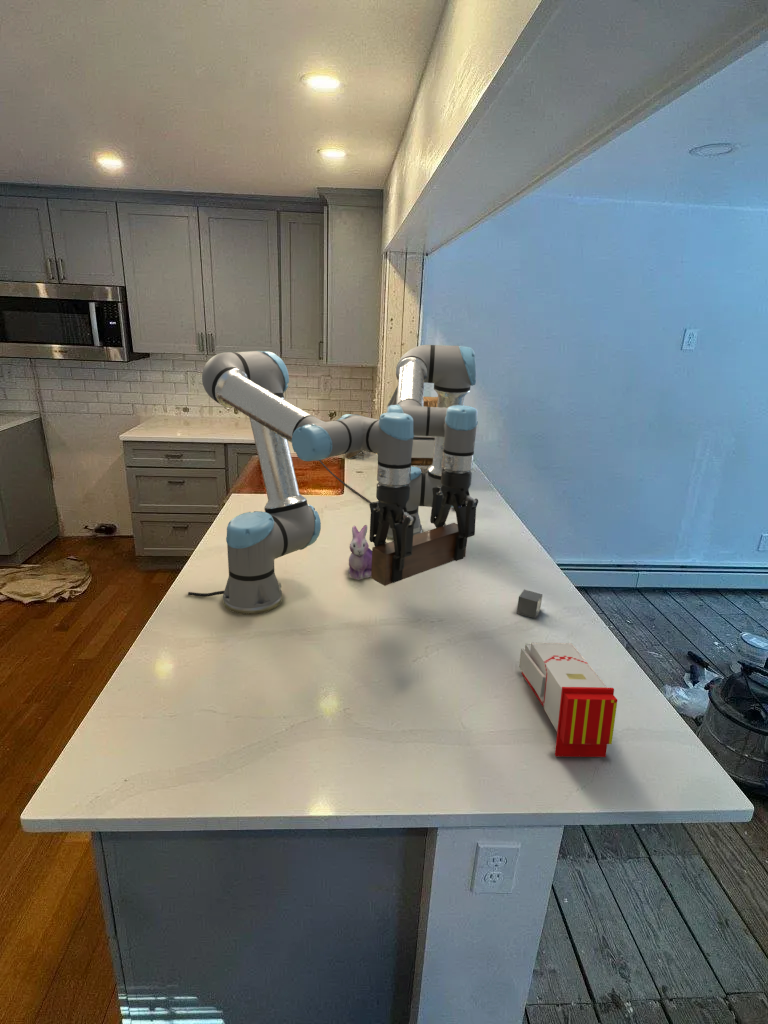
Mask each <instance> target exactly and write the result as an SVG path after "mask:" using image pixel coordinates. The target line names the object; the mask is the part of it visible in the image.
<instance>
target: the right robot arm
mask: <svg viewBox="0 0 768 1024" xmlns="http://www.w3.org/2000/svg"><path fill="white" fill-rule="evenodd" d="M395 377H396V380H397V386H398V389H397V398H396V405H390V406H389V407H388V409H387V408H386V412H387V413H388V412H397V413H405V414H408V415H410V416H411V417H412V418H413V433H414V435H416V436H434V437H435V440H434V452H433V464H432V465H430V466H429V465H428V466H427V472H422V469H421V468H420V467H419V466H418V467H417V466H411V481H410V483H409V485H410V495H409V500H408V502H407V503H406V508H407V513H408V514H409V515H410V516H415V517H416V521H415V524H414V529H413V535H415V534H418V533H422V532H423V525H422V524H421V518H420V515H419V507H425V508H426V507H427V508H430V507H431V511H430V519H429V522H430V524H433V525H434V527H435V528H438V527H441V526H445V525H447V524H446V522H447V519H448V516H449V513H450V511H451V508H452V509H453V508H454V509H453V512H455V516H456V524H458V532H459V536H457V537H456V546H455V556H454V560H455V561H454V562H458V561H461V560H463V559H464V558H465V557H464V549H465V548H466V549H467V547H468V538H472V537H474V536H475V535H476V517H477V507H478V504H479V499H478V498H474V497H472V496H471V494H470V487H471V485H472V478H473V472H472V470H473V468H474V457H475V456H474V455H475V445H476V435H477V428H478V424H479V421H478V415H479V412H478V409H477V408H476V407H473V406H470V405H465V397H466V395H467V394H469V393H470V392H471V386H472V387H473V386H475V385H476V384H477V363H476V353H475V350H474V349H473V348H472V347H470V346H464V345H451V344H450V345H446V344H445V345H444V344H443V345H442V344H421V345H418V346H415V347H413V348H411V349H409V350H408V351H406V352H405V353H404V354H403V355H402V356H401V357H400V358H399V360H398V362H397V364H396V367H395ZM425 384H433V390H434V391H435V392H436V393H437V397H438V401H437V407H423V397H425V396H424V394H425V393H424V389H425ZM318 462H319V463H320V464H321V465H322V466H323V468H325V469H326V470H327V472H329V473H330V475H332V476H333V477H334V478H335V479H336V480H338V481H339V482H340V483H341V484H342V485H344V486H345V487H347V488H348V489H349V490H351V491H352V492H353V493H355V494H356V495H358V496H359V497H361V498H362V499H363V500H364V501H366V502H368V503H369V504H370V503H371V502H372V501H371V500H369V499H368V498H366V497H365V496H363V495H362V494H361V493H360V492H358V491H357V490H355V489H353V487H351V486H349V485H348V484H347V483H346V482H344V481H343V480H341V478H339V477H338V476H337V475H335V474H334V473H333V472H332V471H331V470H330V469H329V468H328V467H327V466H326V465H325V464H324V463H323V461H322V460H319V461H318ZM466 501H467V503H466ZM459 506H461V507H459ZM397 524H399V523H397ZM386 539H389V540H393V532H392V529H391V528H390V526H389V530H388V534H387V538H386Z"/></svg>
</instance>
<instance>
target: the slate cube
mask: <svg viewBox="0 0 768 1024" xmlns="http://www.w3.org/2000/svg"><path fill="white" fill-rule="evenodd" d="M542 600H543V593H539V592H535V591H532V590H528V589H525V588H524V589H523V590H522V592H521V593H520V594H519V596H518V599H517V608H516V614H517V615H521V616H525V617H528V618H532V619H536V618H537V617H538V615H539V613H540V612H541V607H542Z"/></svg>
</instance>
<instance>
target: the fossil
mask: <svg viewBox="0 0 768 1024" xmlns="http://www.w3.org/2000/svg"><path fill="white" fill-rule="evenodd" d="M359 453H361V454H362V455H364V454H365V453H364V452H363V450H359V451H355V452H351V453H346V454H344V457H345V458H347V459H351V458H353V457H356V456H357V455H358V454H359Z"/></svg>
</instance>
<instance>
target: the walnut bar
mask: <svg viewBox="0 0 768 1024" xmlns="http://www.w3.org/2000/svg"><path fill="white" fill-rule="evenodd" d="M457 536H459V532H458V524H457V522H452V523H447V524H446V525H445V526H441V527H438V528H436V527H435V528H431V529H429V530H425V531H422V533H418V534H415V535H413V547H412V555H411V556H408V557H405V563H404V569H403V571H402V580H401V581H403V580H405V579H408V578H411V577H413V576H416V575H419V574H421V573H424V572H427V571H430V570H433V569H436V568H438V567H441V566H444V565H446V564H449V563H452V562H456V561H455V560H454V556H455V546H456V537H457ZM371 550H372V569H371V576H370V578H371V579H372V580H373V581H374V582H375V581H376V582H377V583H378V584H381V585H382V586H384V587H386V586H389V585H392V584H393V583H392V582H391V578H392V560H393V556H395V548H394V540H392V541H389V542H387V543H385V544H382V545H379V546H372V547H371ZM400 552H401V551H400ZM466 552H467V547H466V548H465V549H464V558H465V557H466V554H467V553H466Z"/></svg>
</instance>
